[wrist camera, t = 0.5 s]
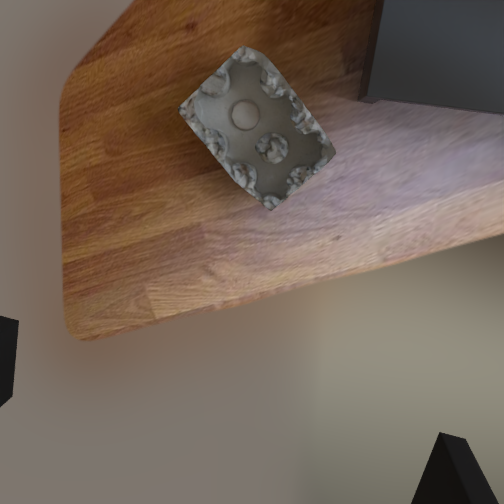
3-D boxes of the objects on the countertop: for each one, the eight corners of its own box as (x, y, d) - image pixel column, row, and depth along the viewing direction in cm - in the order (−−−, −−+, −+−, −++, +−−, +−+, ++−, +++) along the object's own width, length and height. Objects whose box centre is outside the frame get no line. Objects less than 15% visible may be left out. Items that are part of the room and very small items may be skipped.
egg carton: (183, 108, 37) (168, 105, 33) (255, 42, 35) (248, 31, 31) (266, 211, 38) (261, 220, 34) (340, 153, 36) (344, 156, 32)
